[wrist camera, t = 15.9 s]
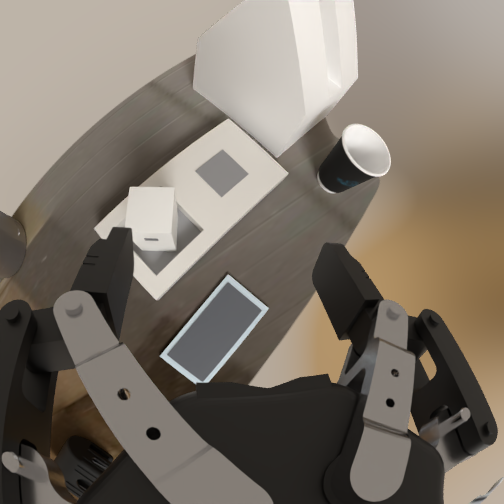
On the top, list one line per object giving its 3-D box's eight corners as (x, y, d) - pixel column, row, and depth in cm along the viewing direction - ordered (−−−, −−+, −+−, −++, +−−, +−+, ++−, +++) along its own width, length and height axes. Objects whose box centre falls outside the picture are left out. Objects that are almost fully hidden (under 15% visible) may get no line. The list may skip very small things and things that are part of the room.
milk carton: (192, 88, 39) (211, -39, 15) (252, 57, 43) (291, -43, 19) (276, 158, 40) (361, 37, 16) (326, 115, 44) (403, 23, 20)
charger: (176, 252, 33) (171, 234, 24) (142, 251, 32) (124, 233, 23) (178, 217, 34) (174, 187, 25) (144, 216, 33) (129, 186, 24)
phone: (202, 386, 33) (202, 389, 32) (160, 354, 32) (159, 356, 31) (266, 308, 36) (269, 308, 35) (227, 274, 36) (228, 274, 35)
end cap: (77, 427, 26) (60, 447, 20) (116, 456, 27) (106, 479, 20) (57, 458, 24) (42, 477, 17) (92, 484, 24) (82, 506, 18)
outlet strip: (159, 299, 33) (156, 300, 30) (100, 233, 32) (93, 228, 29) (281, 181, 39) (288, 173, 36) (225, 129, 39) (228, 117, 36)
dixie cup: (326, 210, 40) (367, 184, 30) (298, 167, 40) (331, 130, 30) (358, 191, 42) (399, 165, 32) (333, 152, 43) (368, 118, 32)
